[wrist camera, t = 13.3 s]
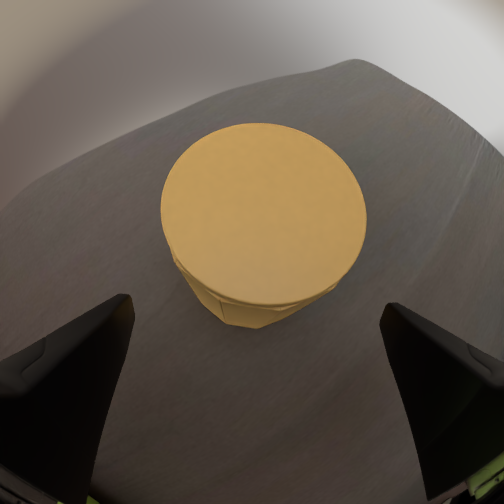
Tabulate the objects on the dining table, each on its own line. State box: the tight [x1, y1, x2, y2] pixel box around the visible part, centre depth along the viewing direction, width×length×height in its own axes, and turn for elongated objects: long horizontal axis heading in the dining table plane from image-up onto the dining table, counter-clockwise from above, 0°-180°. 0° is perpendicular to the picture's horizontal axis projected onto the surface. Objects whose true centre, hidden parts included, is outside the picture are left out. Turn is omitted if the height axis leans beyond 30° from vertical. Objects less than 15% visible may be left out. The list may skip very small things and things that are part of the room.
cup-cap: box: [161, 123, 367, 329], centre depth 13 cm, size 7×7×9 cm
